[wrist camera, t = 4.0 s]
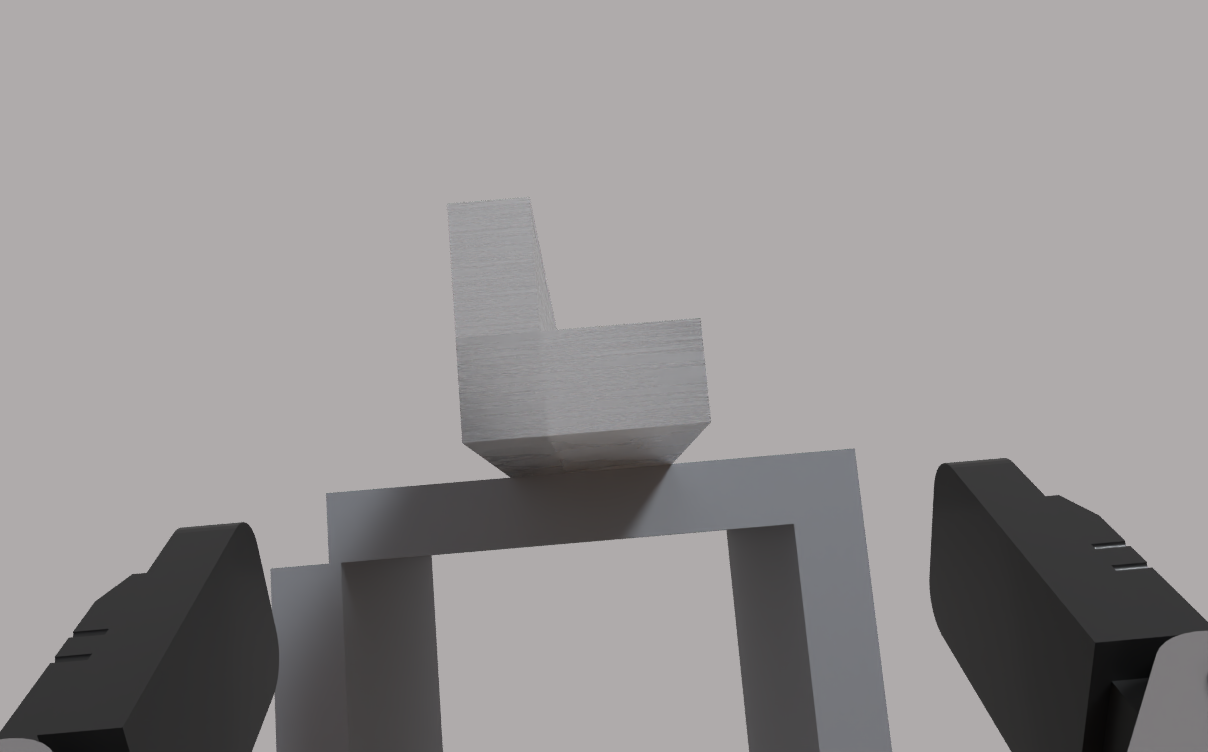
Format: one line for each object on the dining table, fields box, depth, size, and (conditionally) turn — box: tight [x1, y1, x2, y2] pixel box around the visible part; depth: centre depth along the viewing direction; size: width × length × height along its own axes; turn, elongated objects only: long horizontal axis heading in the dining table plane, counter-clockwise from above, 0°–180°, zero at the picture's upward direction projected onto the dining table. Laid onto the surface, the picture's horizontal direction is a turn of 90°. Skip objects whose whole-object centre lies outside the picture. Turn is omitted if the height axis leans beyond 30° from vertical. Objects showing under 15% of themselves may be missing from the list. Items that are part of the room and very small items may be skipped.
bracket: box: [447, 197, 711, 478], centre depth 25 cm, size 4×20×4 cm, turn 0°
